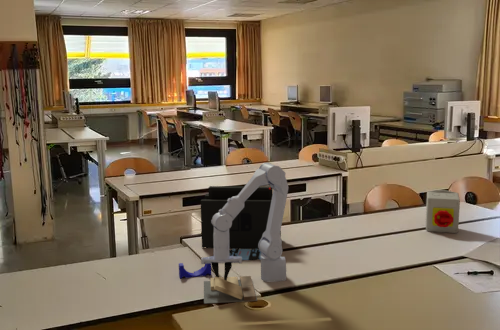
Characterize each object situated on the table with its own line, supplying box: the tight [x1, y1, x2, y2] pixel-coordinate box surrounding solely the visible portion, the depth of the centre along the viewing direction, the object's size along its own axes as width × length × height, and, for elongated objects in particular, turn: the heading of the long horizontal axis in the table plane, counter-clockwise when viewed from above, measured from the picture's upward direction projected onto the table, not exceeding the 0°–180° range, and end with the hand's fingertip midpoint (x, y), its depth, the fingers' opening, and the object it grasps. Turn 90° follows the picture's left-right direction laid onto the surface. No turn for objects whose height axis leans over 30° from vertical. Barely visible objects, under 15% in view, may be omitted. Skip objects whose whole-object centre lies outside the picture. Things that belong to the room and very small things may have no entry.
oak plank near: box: [213, 275, 243, 299], centre depth 183 cm, size 10×8×1 cm
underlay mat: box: [203, 279, 258, 304], centre depth 189 cm, size 18×20×1 cm
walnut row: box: [239, 275, 257, 302], centre depth 190 cm, size 4×19×1 cm, turn 5°
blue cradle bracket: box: [178, 262, 212, 279], centre depth 205 cm, size 12×4×6 cm, turn 106°
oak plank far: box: [209, 276, 239, 290], centre depth 194 cm, size 10×8×1 cm
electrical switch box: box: [425, 189, 461, 234], centre depth 258 cm, size 15×15×20 cm
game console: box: [200, 185, 282, 261], centre depth 236 cm, size 35×30×27 cm
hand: (221, 282), depth 194 cm, fingers closed on oak plank far, 2 cm apart
